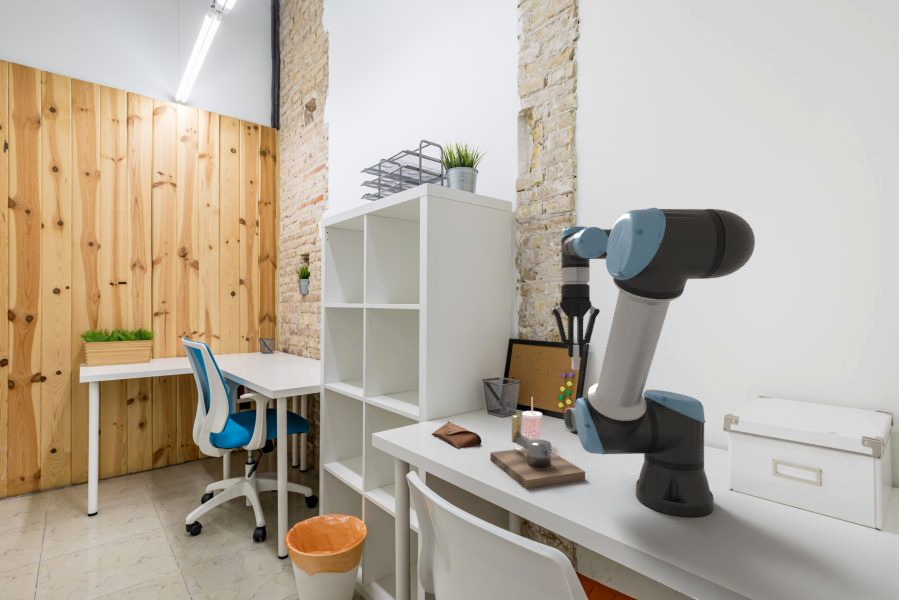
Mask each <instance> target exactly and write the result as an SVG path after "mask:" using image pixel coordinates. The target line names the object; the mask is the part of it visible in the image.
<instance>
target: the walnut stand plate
mask: <svg viewBox="0 0 899 600" xmlns="http://www.w3.org/2000/svg"><path fill="white" fill-rule="evenodd" d="M489 453H490V456H489V457H490V461H491V462H492V463H494V464H495V466H497V467H498V468H499V469H501V470H503V471H504V473H506V474H507V475H508V476H510V477H511V478H512V479H513V480H514V481H516V482H517V483H518V484H520V485H521V486H522V487H524V488H525V489H526V490H528V489H534V488H541V487H547V486H548V485H549V486H553V485H559V484H561V485H562V484H567V482H568V483H572V482H573V481H574V482H580V481H585V480H586V471H585V470H584V469H582V468H580V467H579V466H577V465H575V464H573V463H572V462H570V461H568V460H566V459H565V458H564V457H561V456H560V455H558V454H557V453H556V452H555V453H554V452H553V451H551V465H550V466H548V467H534V466H531V465H529V464H528V463H527V449H525V448H523V447H521V448H519V447H518V446H517V447H513V449H507V450H500V451H492V452H489ZM579 480H580V481H579Z"/></svg>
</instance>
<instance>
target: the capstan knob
mask: <svg viewBox="0 0 899 600" xmlns="http://www.w3.org/2000/svg"><path fill="white" fill-rule="evenodd" d="M511 443H514V444H516V445H519V446H520V447H521V448H525V449H527V463H528V464H529V465H531V466H534V467H548V466H550V465H551V452H552V443H551V442H550V441H548V440H545V439H540V440H539V439H535V440H530V439H528V438H526V437H524V435H523V434H522V415H520V414H512V415H511Z"/></svg>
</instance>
